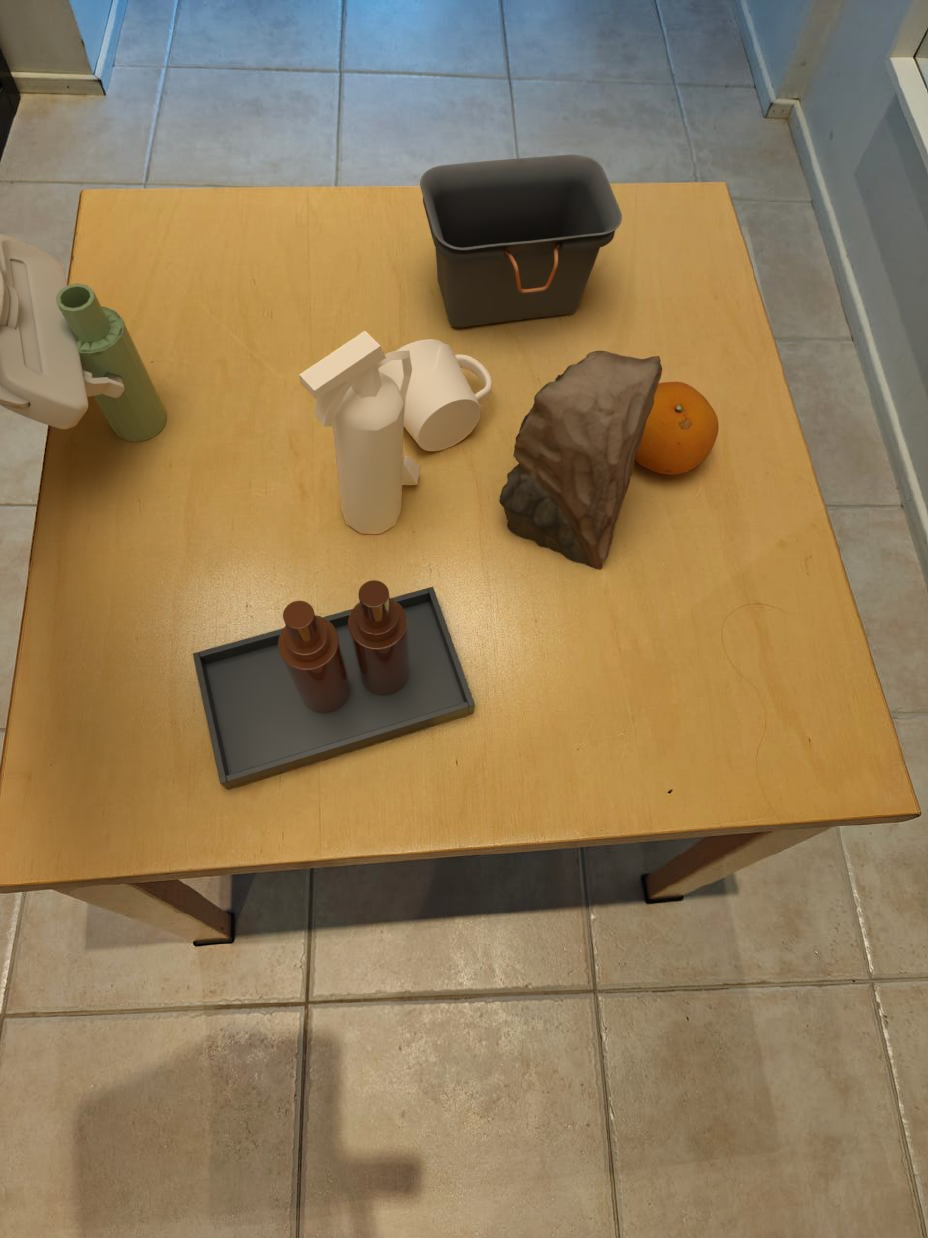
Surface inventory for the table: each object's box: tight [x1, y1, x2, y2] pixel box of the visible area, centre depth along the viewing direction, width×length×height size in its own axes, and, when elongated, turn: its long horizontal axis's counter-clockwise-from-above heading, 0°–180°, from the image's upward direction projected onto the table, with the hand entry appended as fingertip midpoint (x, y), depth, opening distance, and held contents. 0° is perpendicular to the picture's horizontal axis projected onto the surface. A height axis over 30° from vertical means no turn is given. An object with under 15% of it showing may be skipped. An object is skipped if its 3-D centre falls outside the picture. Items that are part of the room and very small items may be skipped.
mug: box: [378, 338, 493, 452], centre depth 88 cm, size 12×9×8 cm
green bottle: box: [56, 282, 167, 443], centre depth 81 cm, size 6×6×18 cm
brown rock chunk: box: [498, 350, 663, 570], centre depth 78 cm, size 13×13×20 cm
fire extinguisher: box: [298, 330, 421, 535], centre depth 75 cm, size 7×12×25 cm, turn 129°
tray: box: [192, 586, 476, 791], centre depth 76 cm, size 24×13×3 cm, turn 109°
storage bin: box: [419, 154, 623, 329], centre depth 93 cm, size 21×16×14 cm
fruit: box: [634, 381, 720, 476], centre depth 87 cm, size 10×10×8 cm
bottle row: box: [278, 579, 410, 713], centre depth 69 cm, size 11×5×18 cm, turn 109°
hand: (115, 360), depth 81 cm, fingers closed on green bottle, 6 cm apart
